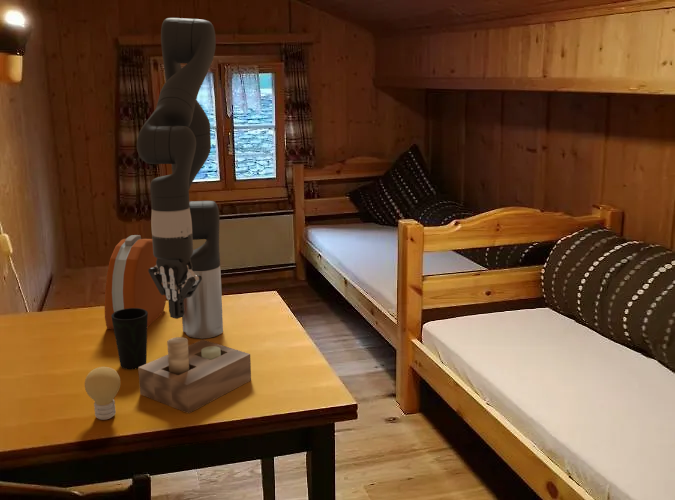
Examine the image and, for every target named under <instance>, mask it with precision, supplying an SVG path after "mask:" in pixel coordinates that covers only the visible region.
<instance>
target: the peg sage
mask: <svg viewBox="0 0 675 500" xmlns="http://www.w3.org/2000/svg"><path fill="white" fill-rule="evenodd" d="M201 355H202V357H203V358H206V359H209V360H212V359H215V358H217V357H219V356H221V349H220V348H219V347H216V346H209V347H205V348H203V349H202V350H201Z"/></svg>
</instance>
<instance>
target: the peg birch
mask: <svg viewBox="0 0 675 500" xmlns="http://www.w3.org/2000/svg"><path fill="white" fill-rule="evenodd" d="M166 345H167V355H168V362H169V372H170V373H173V374H176V375H180V374H182V373H185V372H187V371H189V353H188V346H189V340H188V338H186V337H182V336H180V337H179V336H178V337H177V336H176V337H171V338H169V339H168V340H167V343H166Z"/></svg>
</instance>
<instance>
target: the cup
mask: <svg viewBox="0 0 675 500" xmlns="http://www.w3.org/2000/svg"><path fill="white" fill-rule="evenodd" d="M111 317H112V323H113V328H114V329H113V332H114V337H115V343H116V349H117V355H118V359H119V364H120V368H122V369H124V370H138V367H140V366H142V365H144V364H147V351H148V349H147V348H148V346H147V345H148V327H147V319H148V312H147V311H146V310H144V309H140V308H128V309H122V310H118V311H116V312H114V313H113V314H112V315H111Z"/></svg>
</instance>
